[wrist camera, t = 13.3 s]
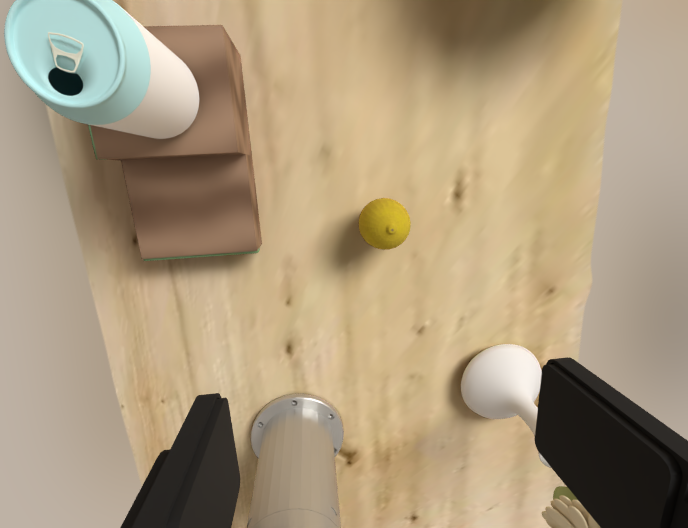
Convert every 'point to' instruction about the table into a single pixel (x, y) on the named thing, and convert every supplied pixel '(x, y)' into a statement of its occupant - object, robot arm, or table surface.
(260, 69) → the table surface
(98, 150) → the stand
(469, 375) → the flower in vase
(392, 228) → the lemon
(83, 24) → the can
